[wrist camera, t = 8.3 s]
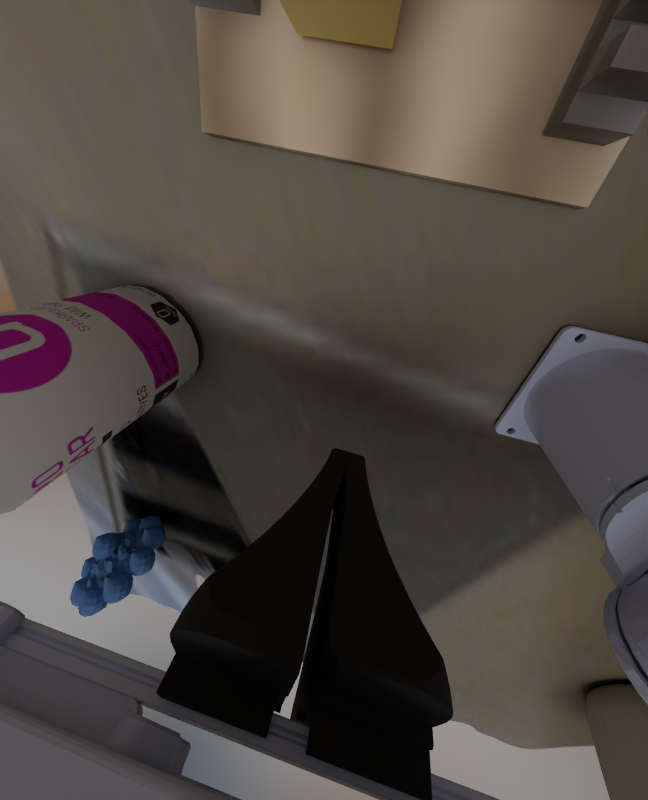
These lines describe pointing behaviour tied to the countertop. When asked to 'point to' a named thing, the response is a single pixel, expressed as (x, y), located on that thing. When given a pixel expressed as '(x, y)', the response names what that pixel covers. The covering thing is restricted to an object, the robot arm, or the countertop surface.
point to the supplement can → (82, 379)
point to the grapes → (117, 564)
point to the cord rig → (438, 90)
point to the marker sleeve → (346, 20)
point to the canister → (620, 739)
